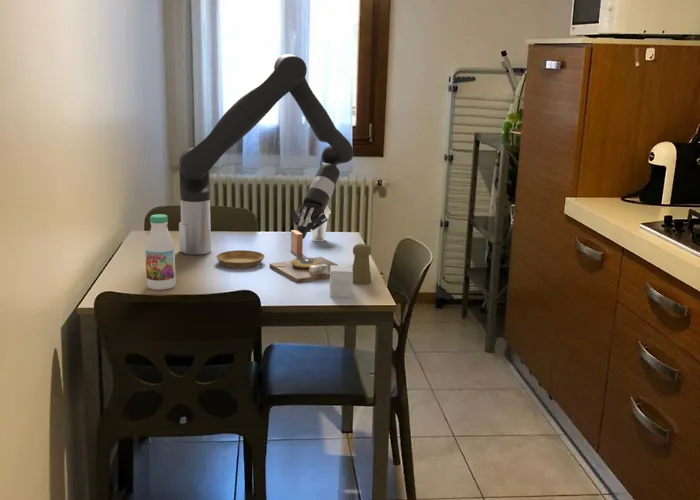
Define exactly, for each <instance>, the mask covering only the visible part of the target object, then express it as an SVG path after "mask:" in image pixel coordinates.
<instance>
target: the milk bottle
mask: <svg viewBox="0 0 700 500" xmlns="http://www.w3.org/2000/svg"><path fill="white" fill-rule="evenodd" d="M168 219H169V217H168V215H167V214H164V213H163V214H161V213H160V214H159V213H158V214H157V213H156V214H152V215H150V217H149V221H150V225H151V226H150V231H149V234H148V236H147V239H146V243H145V270H146V271H145V272H146V287H147V288H148V289H150V290H153V291H163V290H170V289H173V288H175V286H176V282H177V281H176V262H175V259H176V258H175V257H176V256H175V253H176V252H175V243H174V240H173V238H172V236H171V232H170V231H169V229H168V224H169V223H168V221H169V220H168Z"/></svg>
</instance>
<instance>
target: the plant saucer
mask: <svg viewBox="0 0 700 500" xmlns="http://www.w3.org/2000/svg"><path fill="white" fill-rule="evenodd" d="M215 257H216V260H217V261H218V262H219V263H221V265H223V266H224V267H226V268H230V269H249V268H253V267H257V266H258V265H259V264H261V262H262V261H264V258H265V254H264V253H262V252H258V251H255V250H228V251H224V252H223V251H222V252H220V253H218V254H217V255H216V256H215Z"/></svg>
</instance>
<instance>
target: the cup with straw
mask: <svg viewBox="0 0 700 500" xmlns="http://www.w3.org/2000/svg"><path fill="white" fill-rule="evenodd" d="M324 214H325V216H326V217H327V219H328V220H329V216H330V214H332V212H331V209H329V207H328V205H327V206H326V209H325V210H324ZM328 220H327V221H326V222H325V223H323V224H322V225H320V226H319V227H317V228H316V229H315V230H312V229H311V230H310V234H311V241H313V242H324V241H326V238H325V237H326V234H327V233H326V232H327V226H328Z"/></svg>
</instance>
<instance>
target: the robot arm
mask: <svg viewBox="0 0 700 500" xmlns="http://www.w3.org/2000/svg"><path fill="white" fill-rule="evenodd" d="M273 69H274V70H273V72H271V74H270V75H268V77H267V78H266V79H265V80H264V81H263V82H262V83H261V84H260V85H258V86H257V87H255V88H253V89H252V90H250V91H249V92H247V94H245V95H243V96H242V97H240V98H239V99H238V100H237V101H236V102H235V103H233V104H232V106H231V107H230V108H228V109H227V111H226V112H225V113H224V114H223V115H222V117H221V118H220V119H218V122H217V123H216V124H215V126H213V127H214V128H213V129H212V130H211V131H210V133H209V134H208V135H207V136H206V137H205V138H204V139H203V140H201V141H200V143H198V144H197V145H196V146H195V147H190V148H187V149H185V150H184V151H182V153H181V154H180V157H179V164H178V165H179V166H178V167H179V170H178V171H179V173H178V174H179V195H180V199H179V200H180V222H178V234H179V235H178V237H179V251H180V252H181V253H183V254H184V255H186V256H188V255H192V256H194V255H198V254H199V255H206V254H209V253H211V252H212V241H211V239H212V237H211V232H212V230H211V192H210V171H211V170H212V168H213V167H214V166H215V164H216V163H217V162H218V161H219V160H220V159H221V158H222V156H223V155H224V154H225V153H226V152H227V151H229V150H230V149H231V148H232V147H233V146H234V145H236V144H237V143H238V142H240V140H241V139H243V138H244V137H245V136H246V135H247V134H248V133H249V132H251V131H252V130H253V128H255V127H256V125H258V123H260V121H262V120H263V118H264V117H265V116H266V115H268V113H269V112H270V111H271V110H272V108H274V106H275V105H276V104H277V103H278V102H279V101H280V100H282V98H283V97H284V96H286V95H287V94H289V93H290V95H291V96H292V97H293V99H294V101H295V102H296V104H297V105H298V107H299V109H300V111H301V112H302V114H303V116H304V118H305V120H306V122H307V123H308V125H309V127H310V128H311V130H312V132H313V134H314V135H315V137H316V139H317V140H318V141H319V142H321V143H327V144H328V145H327V146H325V147H324V148H323V150H322V153H321V156H320V162H319V167H318V168H319V169H318V170H317V173H316V175H315V176H314V179H313V180H312V182H311V183H310V184H309V187H308V189H307V192H306V193H305V196H304V198H303V202H302V204H301V205H300V206H299V208H298V209H291V215H292V219H293V222H294V225H295V226H296V230H297V231H299V232H300V233H302V234H303V240H304V239H305V238H306V236H307V234H308V231H311V229H312V230H315V229H316V228H317V227H319V226H320V225H322V224H323V223H325V222H326V221H327V222H328V220H329V218H328V219H327V217H326V216H325V214H324V210H325V209H326V206H328V204H329V202H330V199H331V197H332V196H333V194H334V189H335V187H336V184H337V183H338V180H339V177H340V175H341V174H340V170H339V168H338V165H340V164H345V163H346V164H347V163H349V162H351V161H352V159H353V157H354V148H353V146H352V144H351V142H350V141H349V139H347V138H346V137H345V135H343V134H342V132H341V131H339V129H337V127H336V126H335V124H334V122H333V120H332V118H331V117H330V115H329V113H328V112H327V110H326V109H325V107H324V106H323V105H322V103H321V102H320V100H319V99H318V98H317V97H316V95H315V94H314V92H313V90H312V89H311V86H310V85H309V82H308V81H307V79H306V76H307V73H308V72H307V71H308V69H307V64H306V62H305V61H304V59H302V58H301V57H299V56H298V55H294V54H291V53H289V54H288V53H287V54H286V53H285V54H282V55H280V56H279V57H277V59H276V60H275V63H274V67H273Z"/></svg>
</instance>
